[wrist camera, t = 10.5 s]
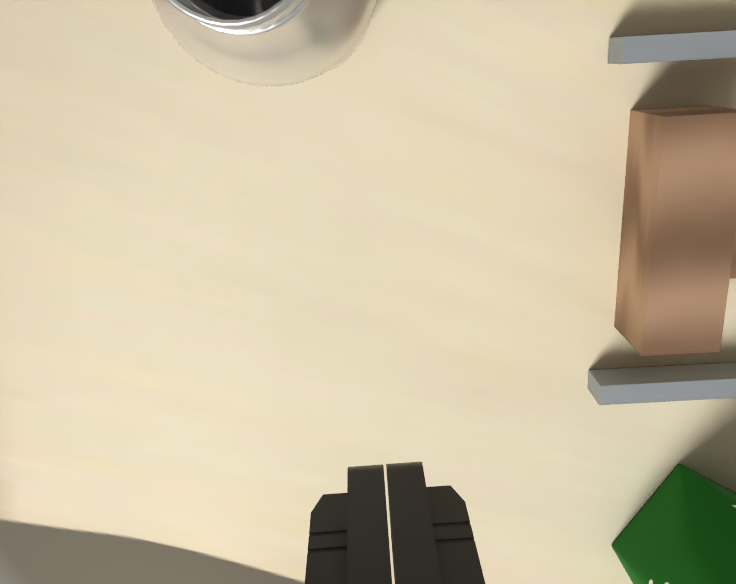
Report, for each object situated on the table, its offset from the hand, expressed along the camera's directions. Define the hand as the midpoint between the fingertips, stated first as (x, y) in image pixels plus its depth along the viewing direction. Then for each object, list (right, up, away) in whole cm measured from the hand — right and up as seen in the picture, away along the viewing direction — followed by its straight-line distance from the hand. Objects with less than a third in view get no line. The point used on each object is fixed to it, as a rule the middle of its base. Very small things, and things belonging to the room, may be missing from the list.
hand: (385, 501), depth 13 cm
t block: (+19, +8, +23) cm, 31 cm away
